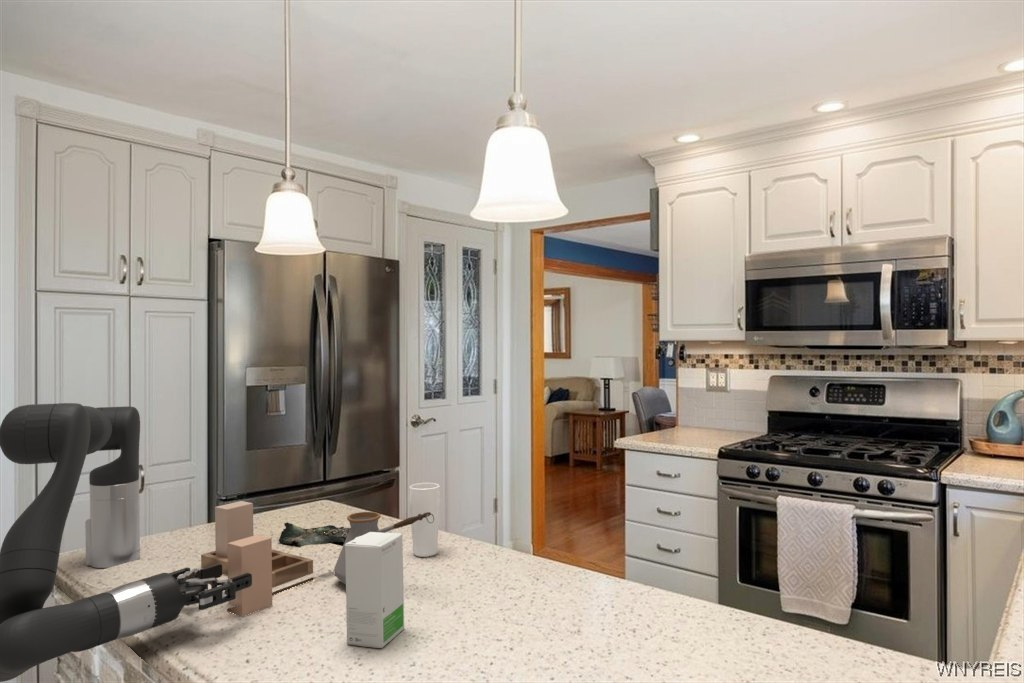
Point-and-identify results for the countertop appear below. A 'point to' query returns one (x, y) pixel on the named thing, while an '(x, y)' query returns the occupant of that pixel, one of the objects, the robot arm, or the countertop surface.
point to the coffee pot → (366, 524)
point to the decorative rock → (313, 535)
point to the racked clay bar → (232, 525)
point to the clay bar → (256, 561)
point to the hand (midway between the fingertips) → (235, 574)
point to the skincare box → (374, 589)
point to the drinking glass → (423, 532)
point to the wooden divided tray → (282, 567)
